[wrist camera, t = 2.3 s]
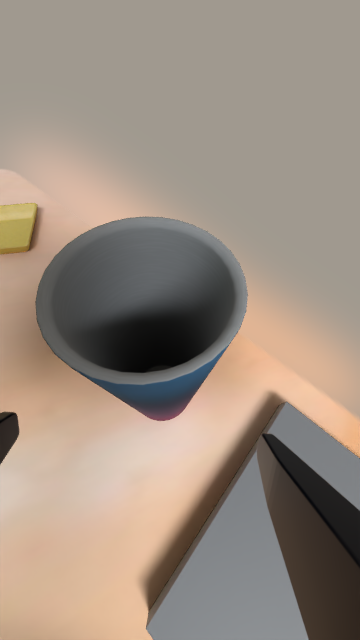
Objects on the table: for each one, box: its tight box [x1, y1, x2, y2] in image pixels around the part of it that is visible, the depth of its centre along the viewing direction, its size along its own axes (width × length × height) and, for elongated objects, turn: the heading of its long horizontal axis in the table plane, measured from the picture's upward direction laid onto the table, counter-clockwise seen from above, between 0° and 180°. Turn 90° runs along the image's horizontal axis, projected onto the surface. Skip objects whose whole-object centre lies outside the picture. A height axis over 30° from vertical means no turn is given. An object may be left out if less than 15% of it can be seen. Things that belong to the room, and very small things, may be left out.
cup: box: [36, 217, 248, 421], centre depth 14 cm, size 7×7×15 cm
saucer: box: [0, 203, 37, 254], centre depth 29 cm, size 9×9×2 cm
